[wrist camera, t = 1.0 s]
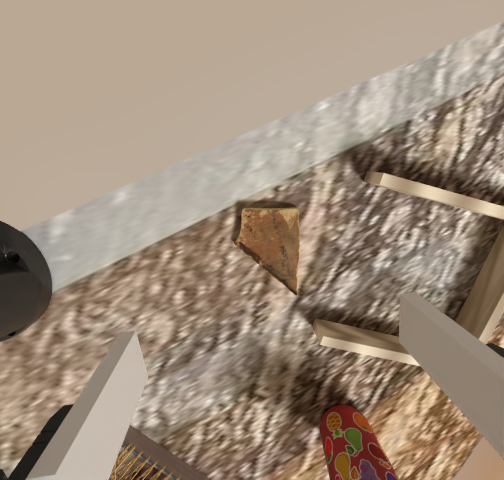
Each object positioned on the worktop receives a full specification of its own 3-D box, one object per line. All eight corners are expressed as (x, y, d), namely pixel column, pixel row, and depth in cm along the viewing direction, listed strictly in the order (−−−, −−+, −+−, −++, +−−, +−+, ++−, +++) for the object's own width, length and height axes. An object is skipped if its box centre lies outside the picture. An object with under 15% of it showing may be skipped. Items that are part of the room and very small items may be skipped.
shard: (294, 290, 37) (297, 296, 35) (234, 290, 37) (234, 297, 35) (298, 206, 34) (301, 208, 32) (234, 205, 34) (233, 208, 32)
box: (312, 325, 38) (319, 344, 34) (367, 171, 33) (383, 172, 29) (446, 355, 40) (468, 376, 36) (518, 213, 35) (553, 220, 31)
